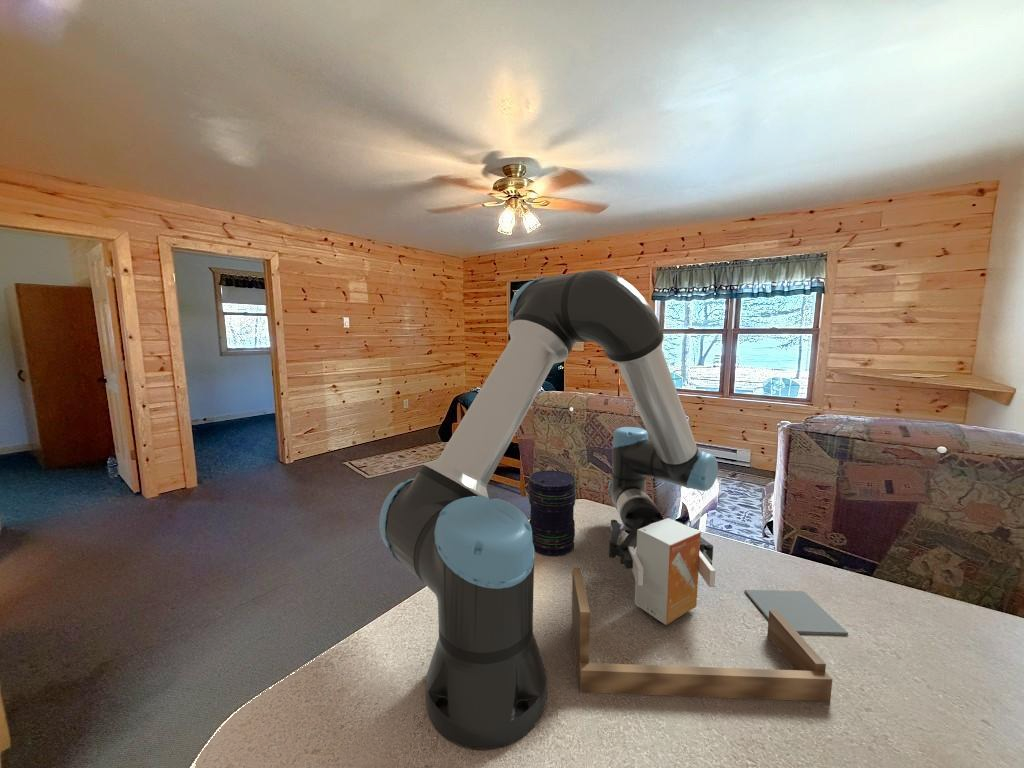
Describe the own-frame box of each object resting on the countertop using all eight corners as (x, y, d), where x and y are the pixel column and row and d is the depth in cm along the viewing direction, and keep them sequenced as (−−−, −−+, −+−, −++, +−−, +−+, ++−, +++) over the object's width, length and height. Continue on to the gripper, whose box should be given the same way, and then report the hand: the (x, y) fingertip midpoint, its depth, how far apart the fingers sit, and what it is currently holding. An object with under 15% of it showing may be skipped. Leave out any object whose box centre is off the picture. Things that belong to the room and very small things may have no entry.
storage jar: (550, 529, 95) (550, 467, 93) (584, 545, 87) (585, 478, 86) (519, 544, 88) (519, 477, 86) (553, 562, 81) (553, 490, 79)
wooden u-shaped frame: (580, 692, 51) (581, 618, 50) (571, 628, 62) (572, 567, 61) (830, 701, 50) (837, 626, 49) (775, 635, 61) (780, 572, 60)
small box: (666, 626, 62) (669, 545, 60) (633, 604, 67) (635, 528, 65) (698, 607, 66) (701, 531, 64) (664, 587, 71) (667, 516, 70)
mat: (779, 633, 61) (779, 630, 61) (744, 591, 71) (744, 589, 71) (847, 635, 61) (848, 632, 61) (803, 593, 71) (803, 591, 71)
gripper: (694, 532, 83) (751, 603, 61) (583, 530, 84) (600, 598, 62) (695, 497, 82) (755, 556, 60) (583, 495, 84) (601, 552, 61)
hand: (676, 577), depth 61 cm, fingers closed on small box, 10 cm apart
